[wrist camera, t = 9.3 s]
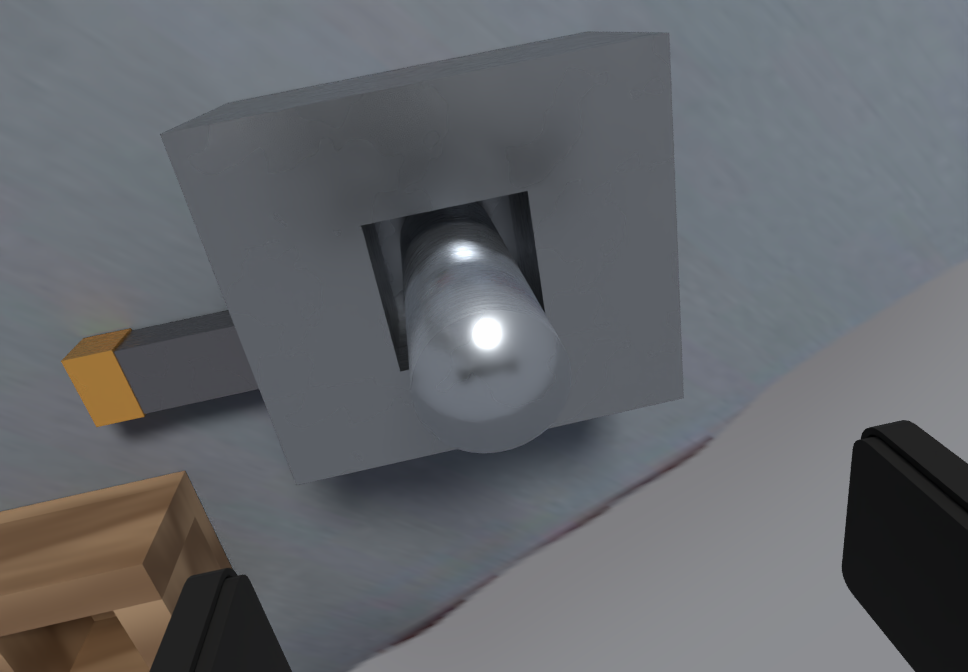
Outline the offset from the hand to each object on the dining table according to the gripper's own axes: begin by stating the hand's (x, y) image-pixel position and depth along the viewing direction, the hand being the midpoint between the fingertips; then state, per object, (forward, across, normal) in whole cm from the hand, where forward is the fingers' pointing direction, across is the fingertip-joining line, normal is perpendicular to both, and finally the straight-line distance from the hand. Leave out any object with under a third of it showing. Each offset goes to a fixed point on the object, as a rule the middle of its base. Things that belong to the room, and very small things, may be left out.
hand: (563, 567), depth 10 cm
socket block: (+20, +1, -1) cm, 20 cm away
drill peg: (+16, +1, 0) cm, 16 cm away
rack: (+19, +20, +13) cm, 31 cm away
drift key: (+19, +9, +3) cm, 21 cm away
